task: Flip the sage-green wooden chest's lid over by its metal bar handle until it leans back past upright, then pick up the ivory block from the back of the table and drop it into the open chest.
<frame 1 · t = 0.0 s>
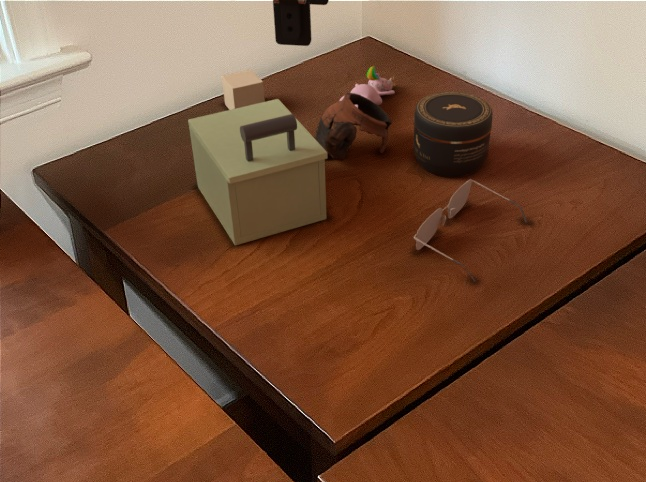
hand: (303, 22, 78), 26 cm above the table, tool pointing down, fingers open, 9 cm apart
chest: (260, 202, 101), on the table
eyeglasses: (471, 240, 95), on the table
brown crumpled piece: (348, 152, 110), on the table
jar: (449, 161, 108), on the table
lid: (254, 122, 93), point 11 cm above the table, hinge at 0.0°
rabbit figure: (367, 108, 120), on the table
block: (245, 107, 120), on the table
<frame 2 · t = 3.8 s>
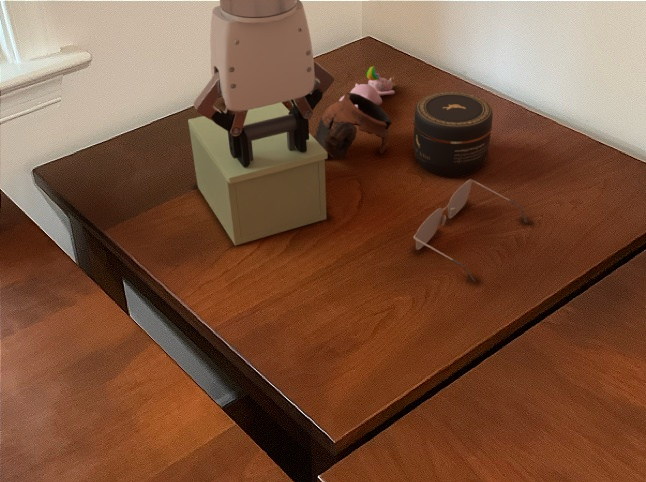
hand: (270, 152, 91), 10 cm above the table, tool pointing down, fingers closed on lid, 6 cm apart
lid: (254, 122, 93), point 11 cm above the table, hinge at 0.0°, touching gripper
everything else where it was.
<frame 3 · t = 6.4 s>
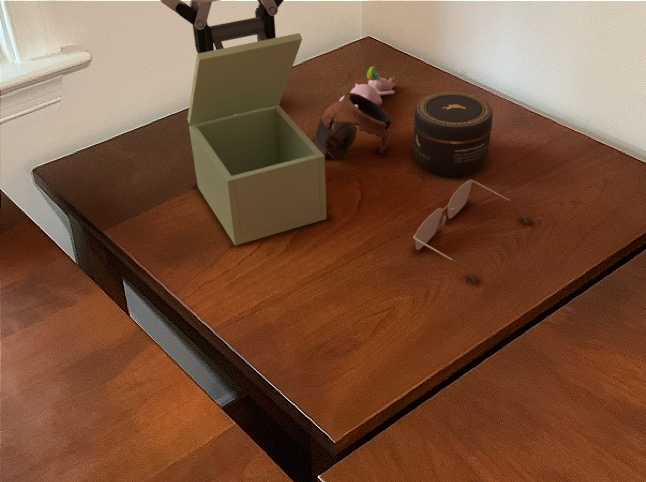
hand: (236, 51, 91), 18 cm above the table, tool pointing down, fingers closed on lid, 6 cm apart
lid: (235, 65, 93), point 16 cm above the table, hinge at 54.5°, touching gripper
everything else where it was.
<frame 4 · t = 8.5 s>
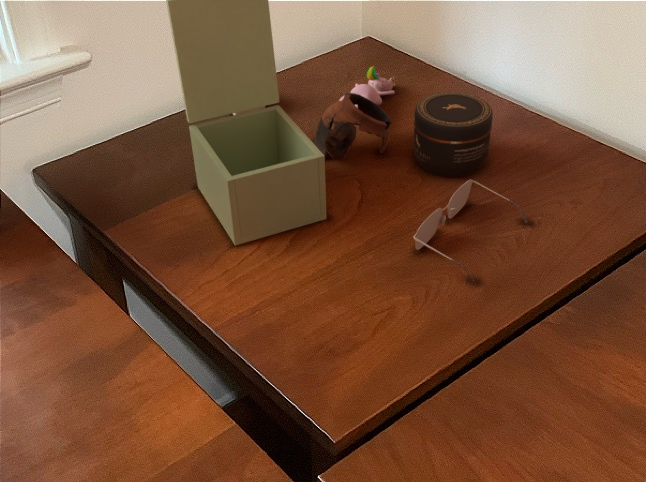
lid: (220, 49, 97), point 16 cm above the table, hinge at 96.2°, touching gripper
everything else where it was.
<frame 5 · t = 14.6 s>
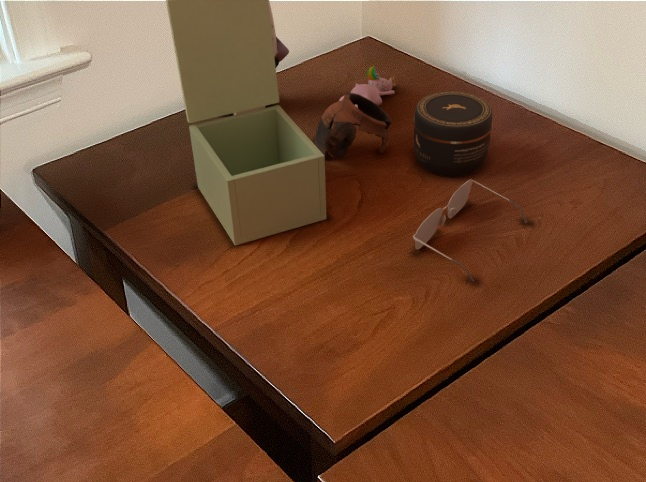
hand: (244, 105, 120), 0 cm above the table, tool pointing down, fingers closed on block, 4 cm apart
lid: (220, 49, 97), point 16 cm above the table, hinge at 96.6°
block: (245, 107, 120), on the table, touching gripper
everything else where it was.
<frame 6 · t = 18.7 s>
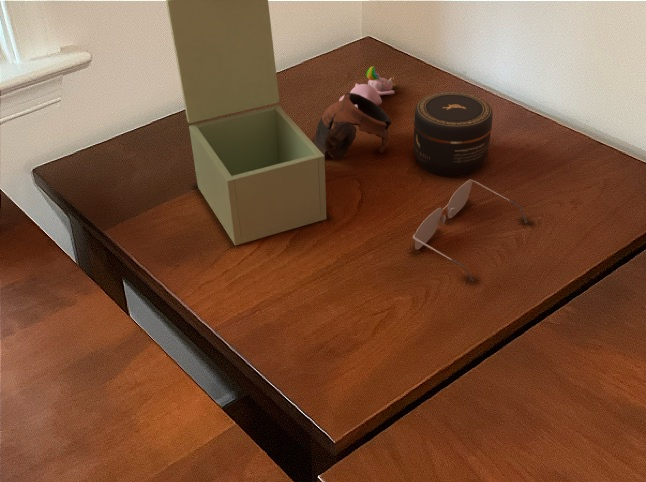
when the fingers open (8 cm above the table, at t = 22.8 s): block drops 7 cm, resting on chest.
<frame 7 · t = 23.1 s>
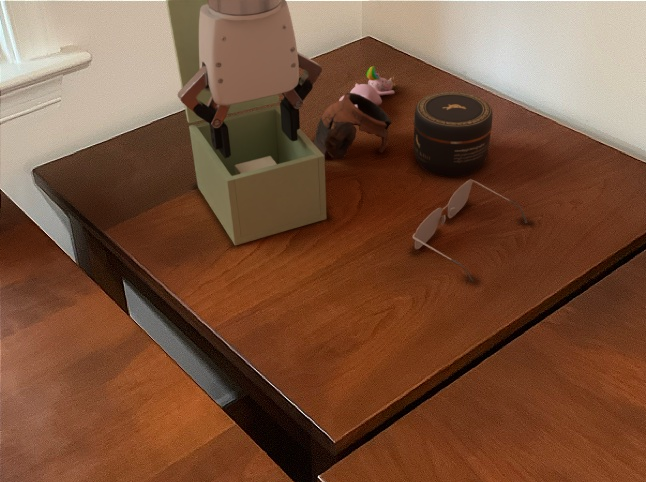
hand: (257, 143, 94), 9 cm above the table, tool pointing down, fingers open, 7 cm apart
block: (262, 201, 99), point 1 cm above the table, touching chest
everything else where it was.
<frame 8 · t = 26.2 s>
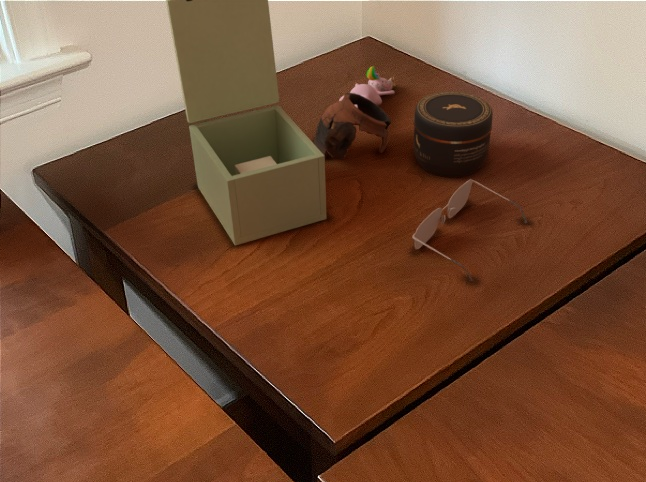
nothing on the table moved.
at the end: lid at +97° (first picture: +0°); block inside the target area in the chest (1.0 cm from its centre), point 0.8 cm above the chest's base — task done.
